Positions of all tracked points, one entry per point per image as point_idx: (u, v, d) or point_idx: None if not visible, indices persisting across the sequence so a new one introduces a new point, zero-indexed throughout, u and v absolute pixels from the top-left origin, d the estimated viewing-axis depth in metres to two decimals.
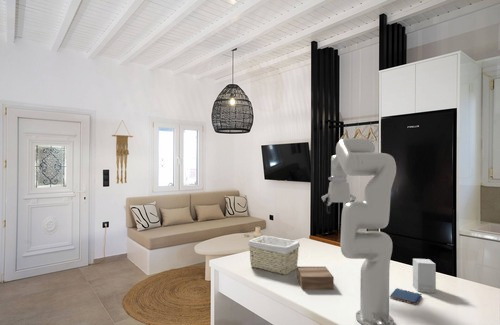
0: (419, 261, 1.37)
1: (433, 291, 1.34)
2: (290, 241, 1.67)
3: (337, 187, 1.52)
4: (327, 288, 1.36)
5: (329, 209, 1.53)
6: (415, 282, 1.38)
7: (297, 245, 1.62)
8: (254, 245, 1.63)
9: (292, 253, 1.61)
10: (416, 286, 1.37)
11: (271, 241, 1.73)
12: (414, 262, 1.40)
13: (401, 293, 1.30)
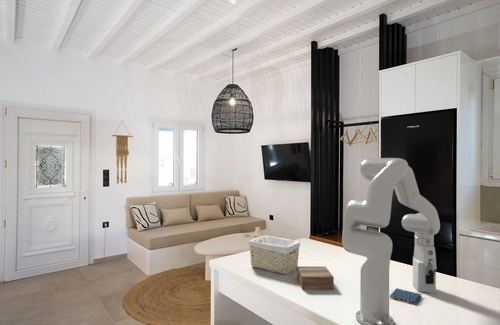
0: (419, 261, 1.37)
1: (433, 291, 1.34)
2: (290, 241, 1.68)
3: None
4: (327, 288, 1.36)
5: (433, 278, 1.33)
6: (415, 282, 1.38)
7: (297, 245, 1.62)
8: (255, 245, 1.63)
9: (292, 253, 1.62)
10: (416, 286, 1.37)
11: (271, 241, 1.74)
12: (414, 262, 1.40)
13: (401, 293, 1.30)
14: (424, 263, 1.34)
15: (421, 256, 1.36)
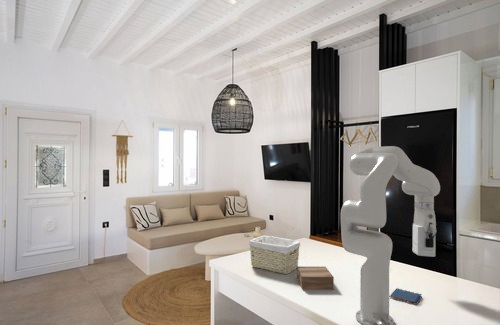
0: (419, 226, 1.37)
1: (433, 255, 1.34)
2: (290, 241, 1.68)
3: None
4: (327, 288, 1.36)
5: (433, 242, 1.33)
6: (415, 247, 1.38)
7: (298, 245, 1.63)
8: (255, 245, 1.63)
9: (293, 253, 1.62)
10: (416, 251, 1.37)
11: (271, 241, 1.74)
12: (414, 227, 1.40)
13: (401, 293, 1.30)
14: (424, 227, 1.34)
15: (421, 220, 1.36)
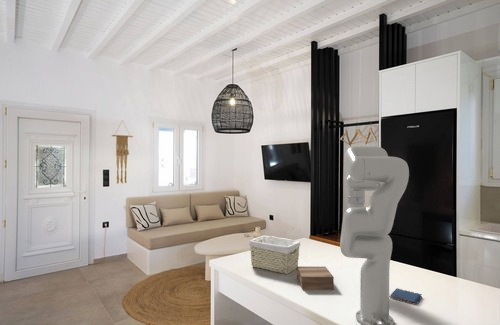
0: None
1: None
2: (291, 241, 1.68)
3: None
4: (327, 288, 1.36)
5: None
6: None
7: (298, 244, 1.63)
8: (255, 245, 1.63)
9: (293, 252, 1.62)
10: None
11: (271, 241, 1.74)
12: None
13: (401, 293, 1.30)
14: None
15: None
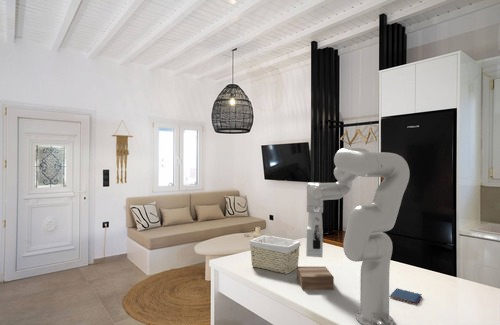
0: (309, 228, 1.42)
1: (320, 255, 1.39)
2: (291, 240, 1.68)
3: None
4: (327, 288, 1.36)
5: None
6: (306, 248, 1.44)
7: (298, 244, 1.63)
8: (255, 245, 1.63)
9: (293, 252, 1.63)
10: (306, 252, 1.42)
11: (271, 241, 1.74)
12: None
13: (401, 293, 1.30)
14: (311, 229, 1.40)
15: (310, 223, 1.41)
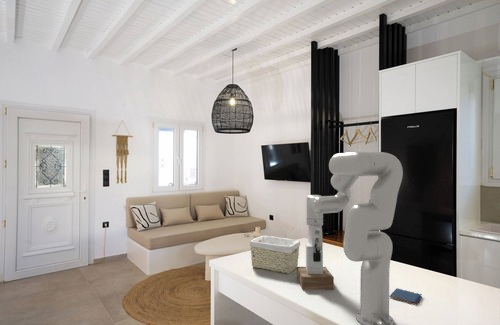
0: (308, 245, 1.42)
1: (321, 272, 1.40)
2: (290, 240, 1.69)
3: None
4: (327, 288, 1.36)
5: (320, 256, 1.38)
6: (306, 265, 1.43)
7: (298, 244, 1.64)
8: (256, 245, 1.63)
9: (293, 252, 1.63)
10: (306, 269, 1.42)
11: (270, 241, 1.74)
12: None
13: (401, 293, 1.30)
14: (311, 242, 1.39)
15: (310, 236, 1.41)
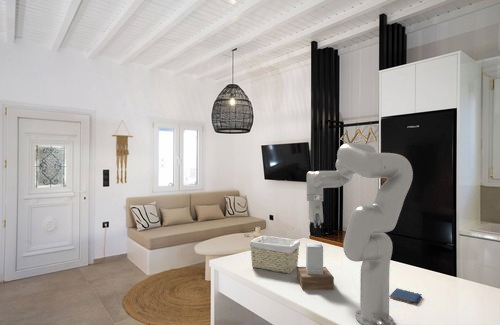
0: (309, 245, 1.42)
1: (321, 273, 1.39)
2: (290, 240, 1.69)
3: None
4: (327, 288, 1.36)
5: None
6: (306, 266, 1.43)
7: (298, 244, 1.65)
8: (256, 245, 1.62)
9: (294, 252, 1.64)
10: (306, 269, 1.42)
11: (270, 241, 1.74)
12: (306, 246, 1.45)
13: (401, 293, 1.30)
14: (312, 218, 1.39)
15: (310, 211, 1.41)
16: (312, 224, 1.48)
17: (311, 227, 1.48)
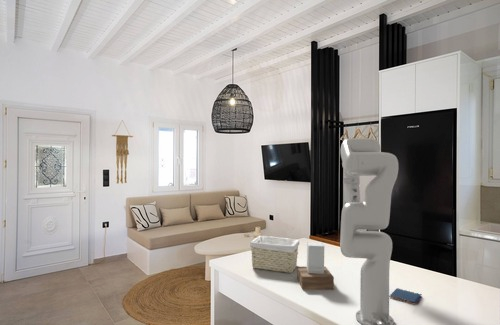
0: (310, 244, 1.42)
1: (322, 272, 1.40)
2: (289, 240, 1.70)
3: None
4: (327, 288, 1.36)
5: None
6: (307, 265, 1.43)
7: (298, 243, 1.66)
8: (257, 246, 1.61)
9: (294, 251, 1.65)
10: (307, 268, 1.42)
11: (269, 241, 1.74)
12: (307, 245, 1.45)
13: (401, 293, 1.30)
14: (350, 200, 1.48)
15: (348, 194, 1.50)
16: None
17: None
